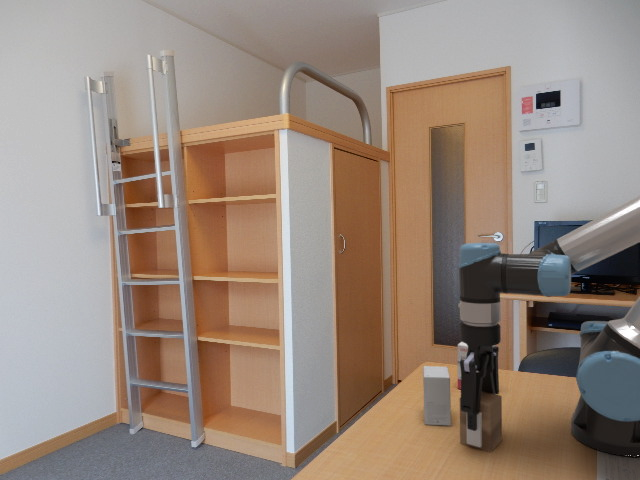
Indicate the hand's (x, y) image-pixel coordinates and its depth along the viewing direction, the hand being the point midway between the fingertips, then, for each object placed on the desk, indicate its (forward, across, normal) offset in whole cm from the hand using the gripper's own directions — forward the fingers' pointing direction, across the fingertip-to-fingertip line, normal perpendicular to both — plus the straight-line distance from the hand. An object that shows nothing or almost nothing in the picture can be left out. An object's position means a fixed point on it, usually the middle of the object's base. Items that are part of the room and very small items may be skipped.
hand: (481, 438), depth 93 cm
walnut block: (+1, 0, 0) cm, 1 cm away
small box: (+1, -5, -12) cm, 13 cm away
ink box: (+1, -27, -12) cm, 30 cm away
